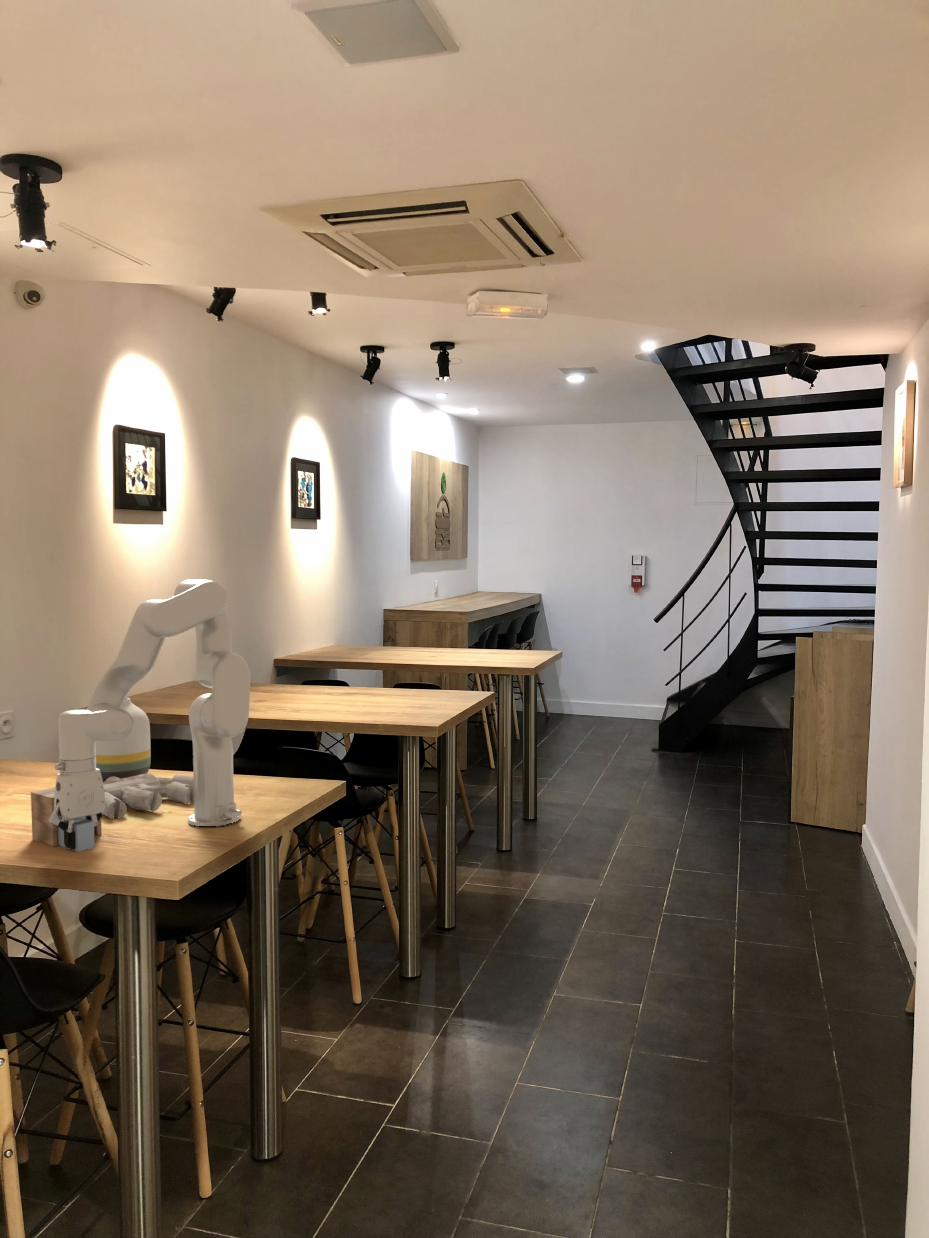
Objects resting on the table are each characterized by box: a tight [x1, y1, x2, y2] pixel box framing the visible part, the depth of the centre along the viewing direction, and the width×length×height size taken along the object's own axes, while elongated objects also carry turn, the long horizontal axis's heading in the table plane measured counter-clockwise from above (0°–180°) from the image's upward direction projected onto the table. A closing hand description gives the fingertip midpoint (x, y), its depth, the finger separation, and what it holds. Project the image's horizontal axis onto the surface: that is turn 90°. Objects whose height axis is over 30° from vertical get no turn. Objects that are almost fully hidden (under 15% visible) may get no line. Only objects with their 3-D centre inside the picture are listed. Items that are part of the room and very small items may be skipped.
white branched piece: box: [103, 772, 194, 820], centre depth 250 cm, size 31×7×30 cm
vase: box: [95, 697, 152, 782], centre depth 274 cm, size 17×17×24 cm
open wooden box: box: [30, 786, 103, 847], centre depth 217 cm, size 9×12×11 cm
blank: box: [57, 817, 96, 853], centre depth 212 cm, size 13×4×6 cm, turn 53°
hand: (80, 844), depth 209 cm, fingers closed on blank, 4 cm apart
